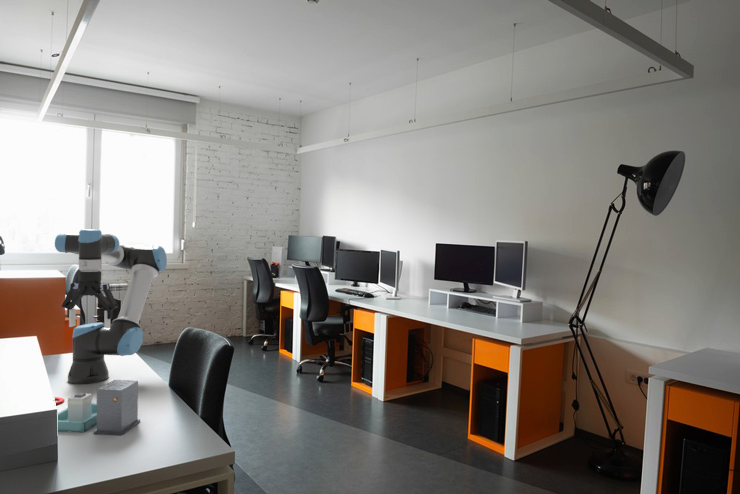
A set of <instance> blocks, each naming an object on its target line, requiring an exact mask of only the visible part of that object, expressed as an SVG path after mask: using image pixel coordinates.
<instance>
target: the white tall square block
mask: <svg viewBox="0 0 740 494" xmlns="http://www.w3.org/2000/svg"><path fill="white" fill-rule="evenodd" d="M92 394H93V393H86V392H78V393H75V394H73V395H72V396H70V397H68V398H67V408H68V421H84V420H86V419H88V418H89V417H91V416H92V403H93V395H92Z"/></svg>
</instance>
